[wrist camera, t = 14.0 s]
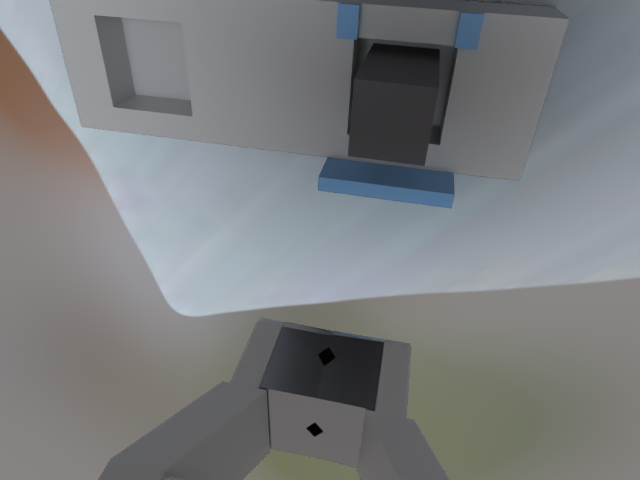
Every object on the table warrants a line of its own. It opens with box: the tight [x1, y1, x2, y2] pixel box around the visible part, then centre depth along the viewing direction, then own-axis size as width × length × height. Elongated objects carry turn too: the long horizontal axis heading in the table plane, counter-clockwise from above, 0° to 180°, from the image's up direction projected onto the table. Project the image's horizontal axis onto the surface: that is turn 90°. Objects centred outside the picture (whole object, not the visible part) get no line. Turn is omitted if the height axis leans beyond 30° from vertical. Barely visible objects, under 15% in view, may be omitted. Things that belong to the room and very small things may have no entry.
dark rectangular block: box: [348, 43, 440, 166], centre depth 24 cm, size 4×4×7 cm
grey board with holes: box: [49, 0, 570, 208], centre depth 26 cm, size 9×26×6 cm, turn 87°
